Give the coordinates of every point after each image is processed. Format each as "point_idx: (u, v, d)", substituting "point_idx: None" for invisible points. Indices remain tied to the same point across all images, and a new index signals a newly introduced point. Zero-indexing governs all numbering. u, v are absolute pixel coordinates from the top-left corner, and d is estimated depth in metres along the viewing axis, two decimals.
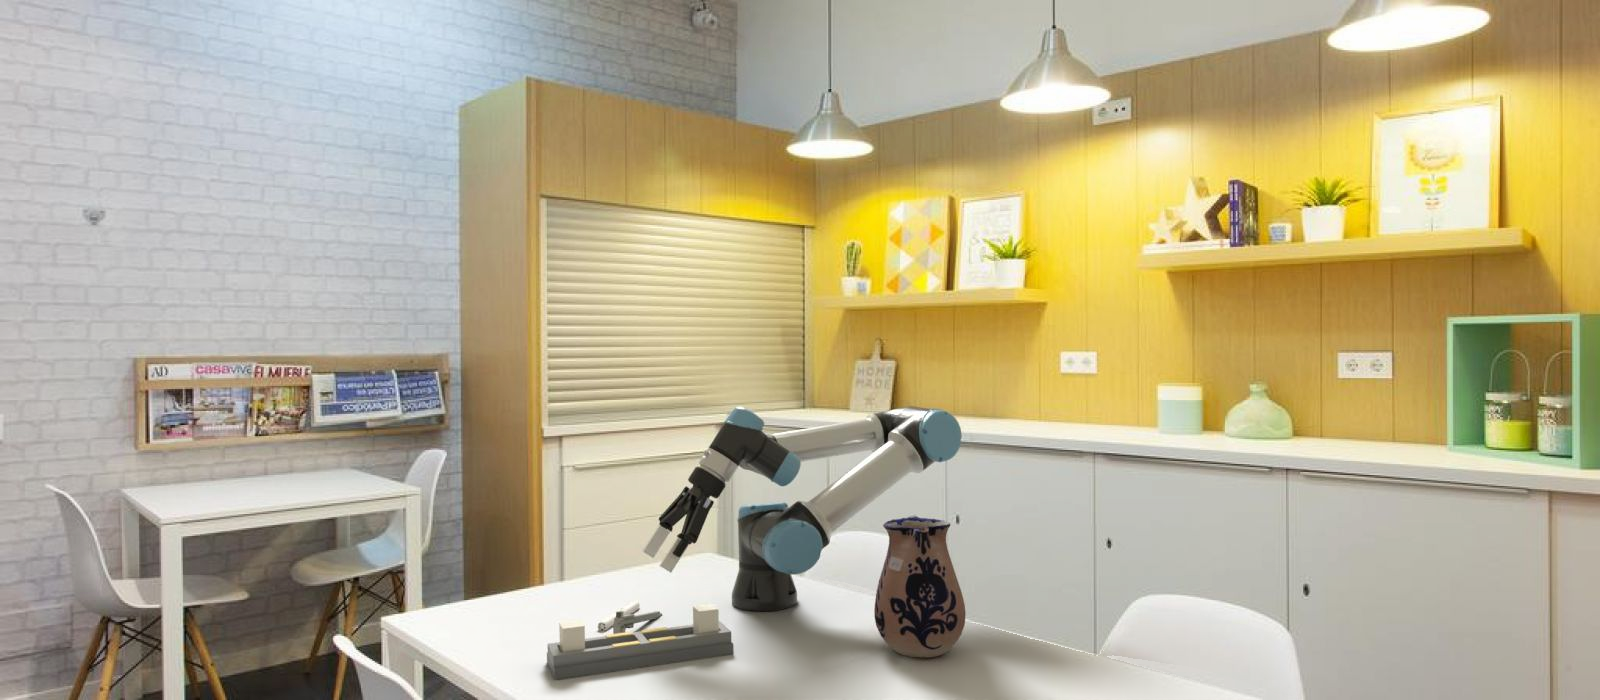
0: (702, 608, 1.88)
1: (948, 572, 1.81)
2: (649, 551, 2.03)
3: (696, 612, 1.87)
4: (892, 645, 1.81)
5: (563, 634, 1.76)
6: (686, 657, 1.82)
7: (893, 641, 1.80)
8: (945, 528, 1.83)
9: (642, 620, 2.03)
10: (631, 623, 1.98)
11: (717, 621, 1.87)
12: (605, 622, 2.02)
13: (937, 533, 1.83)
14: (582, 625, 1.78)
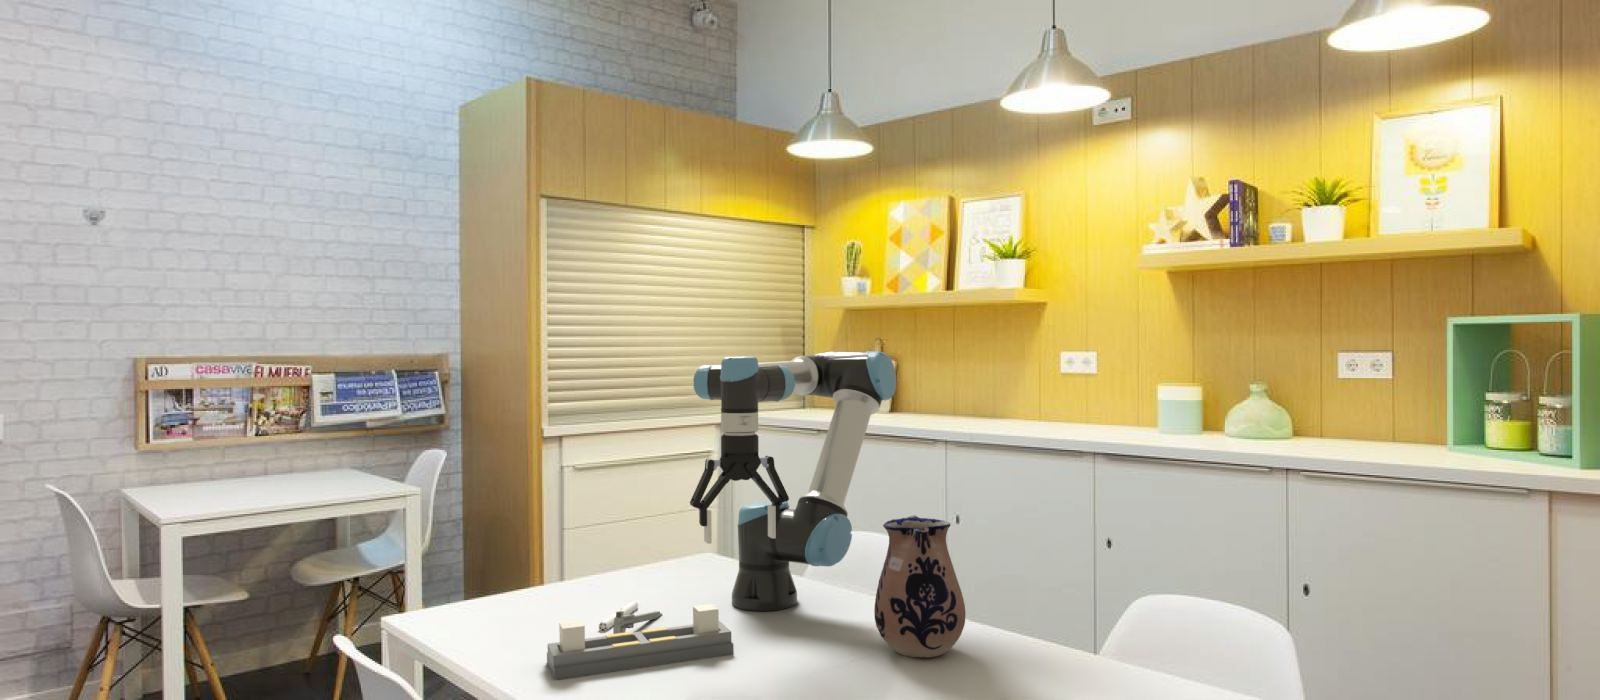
0: (702, 608, 1.88)
1: (948, 572, 1.81)
2: None
3: (696, 612, 1.87)
4: (892, 645, 1.81)
5: (563, 634, 1.76)
6: (686, 657, 1.82)
7: (893, 641, 1.80)
8: (945, 528, 1.83)
9: (642, 620, 2.03)
10: (631, 623, 1.98)
11: (717, 621, 1.87)
12: (606, 622, 2.02)
13: (937, 533, 1.83)
14: (582, 625, 1.78)
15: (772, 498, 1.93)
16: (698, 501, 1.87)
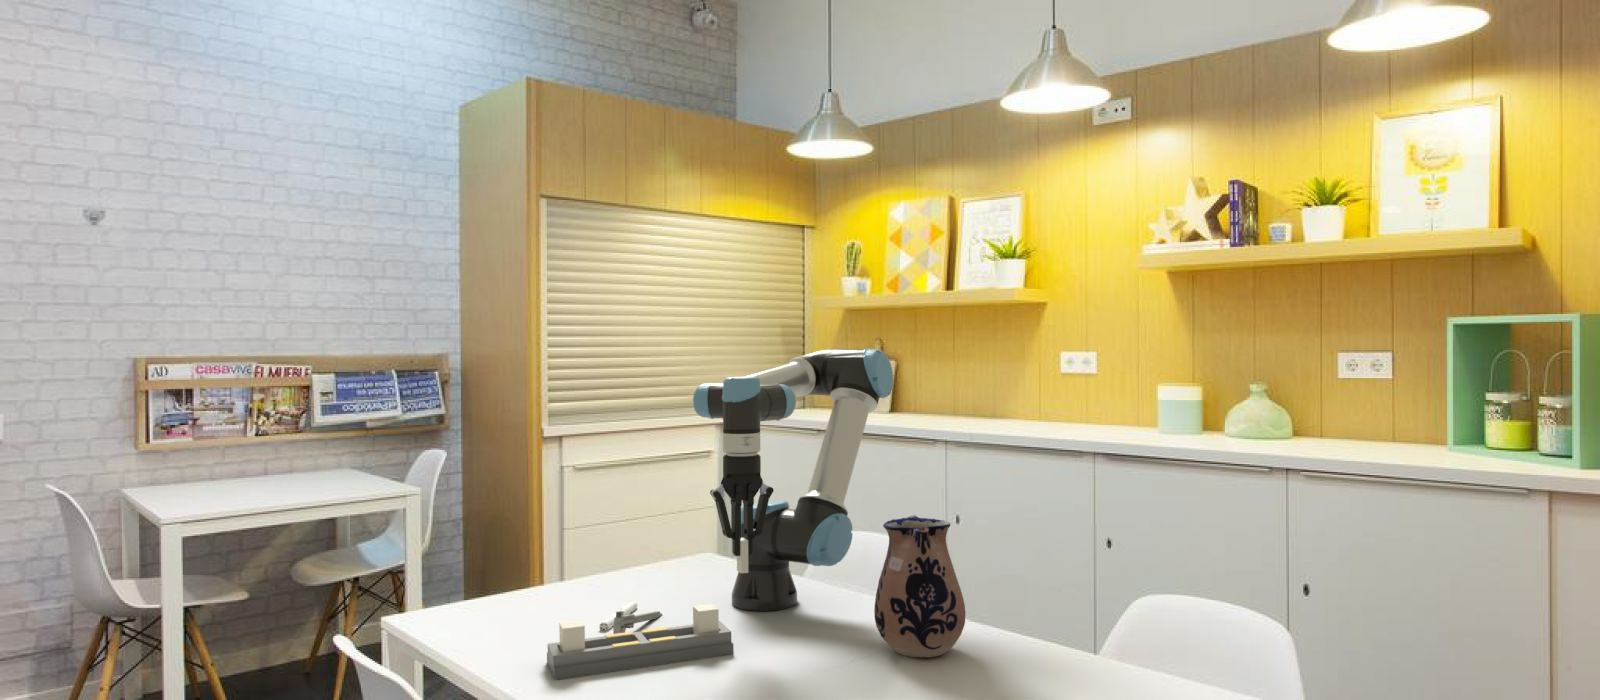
0: (702, 608, 1.88)
1: (948, 572, 1.81)
2: None
3: (696, 612, 1.87)
4: (892, 645, 1.81)
5: (563, 634, 1.76)
6: (686, 657, 1.82)
7: (893, 641, 1.80)
8: (945, 528, 1.83)
9: (642, 620, 2.03)
10: (631, 623, 1.98)
11: (717, 621, 1.87)
12: (607, 622, 2.02)
13: (937, 533, 1.83)
14: (582, 625, 1.78)
15: (748, 529, 1.90)
16: (729, 530, 1.89)
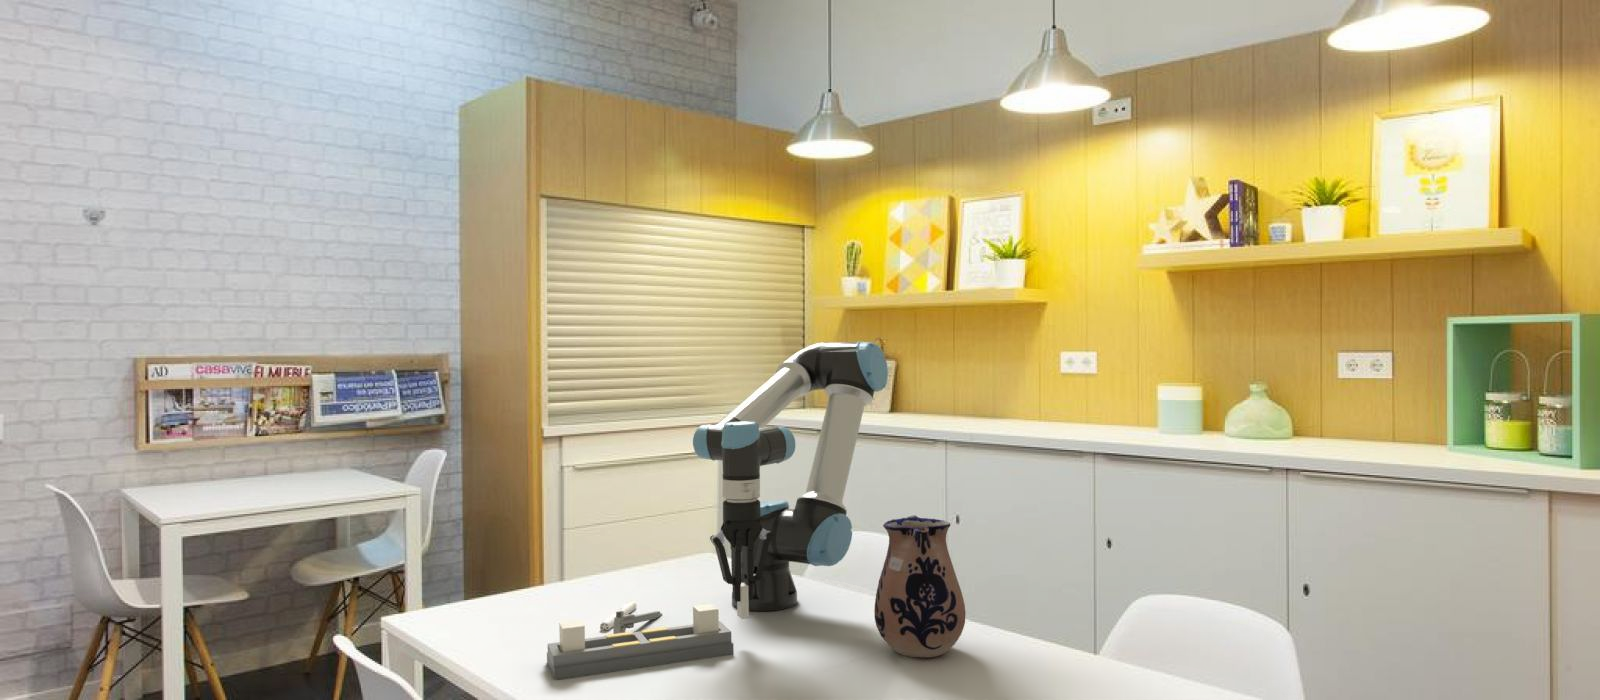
0: (702, 608, 1.88)
1: (948, 572, 1.81)
2: None
3: (696, 612, 1.87)
4: (892, 645, 1.81)
5: (563, 634, 1.76)
6: (686, 657, 1.82)
7: (893, 641, 1.80)
8: (945, 528, 1.83)
9: (642, 620, 2.03)
10: (631, 623, 1.98)
11: (717, 621, 1.87)
12: (607, 622, 2.02)
13: (937, 533, 1.83)
14: (582, 625, 1.78)
15: (748, 574, 1.90)
16: (729, 577, 1.89)
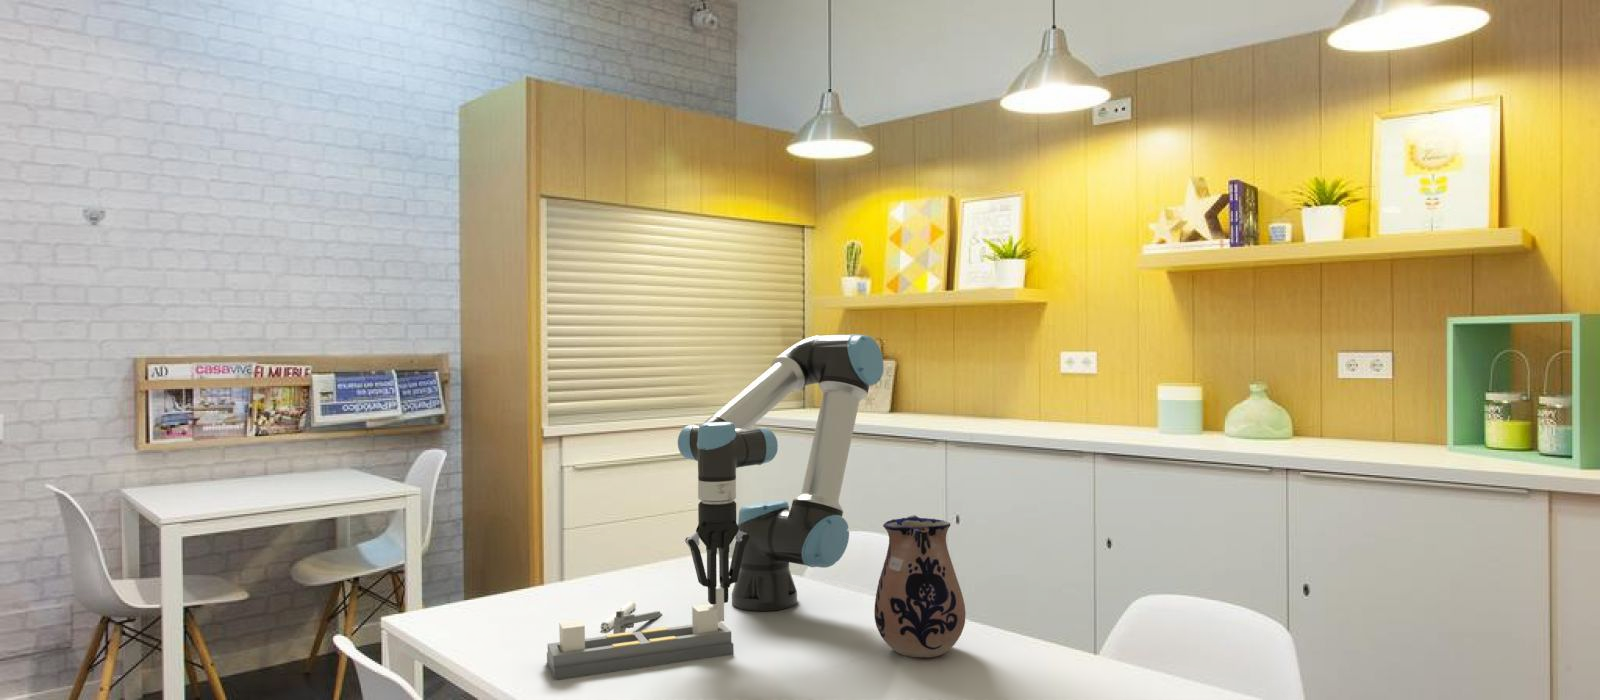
0: (701, 608, 1.87)
1: (948, 572, 1.81)
2: None
3: (695, 613, 1.87)
4: (892, 645, 1.81)
5: (563, 634, 1.76)
6: (686, 657, 1.82)
7: (893, 641, 1.80)
8: (945, 528, 1.83)
9: (642, 620, 2.03)
10: (631, 623, 1.98)
11: (717, 621, 1.87)
12: (608, 622, 2.02)
13: (937, 533, 1.83)
14: (582, 625, 1.78)
15: (724, 577, 1.88)
16: (705, 579, 1.87)
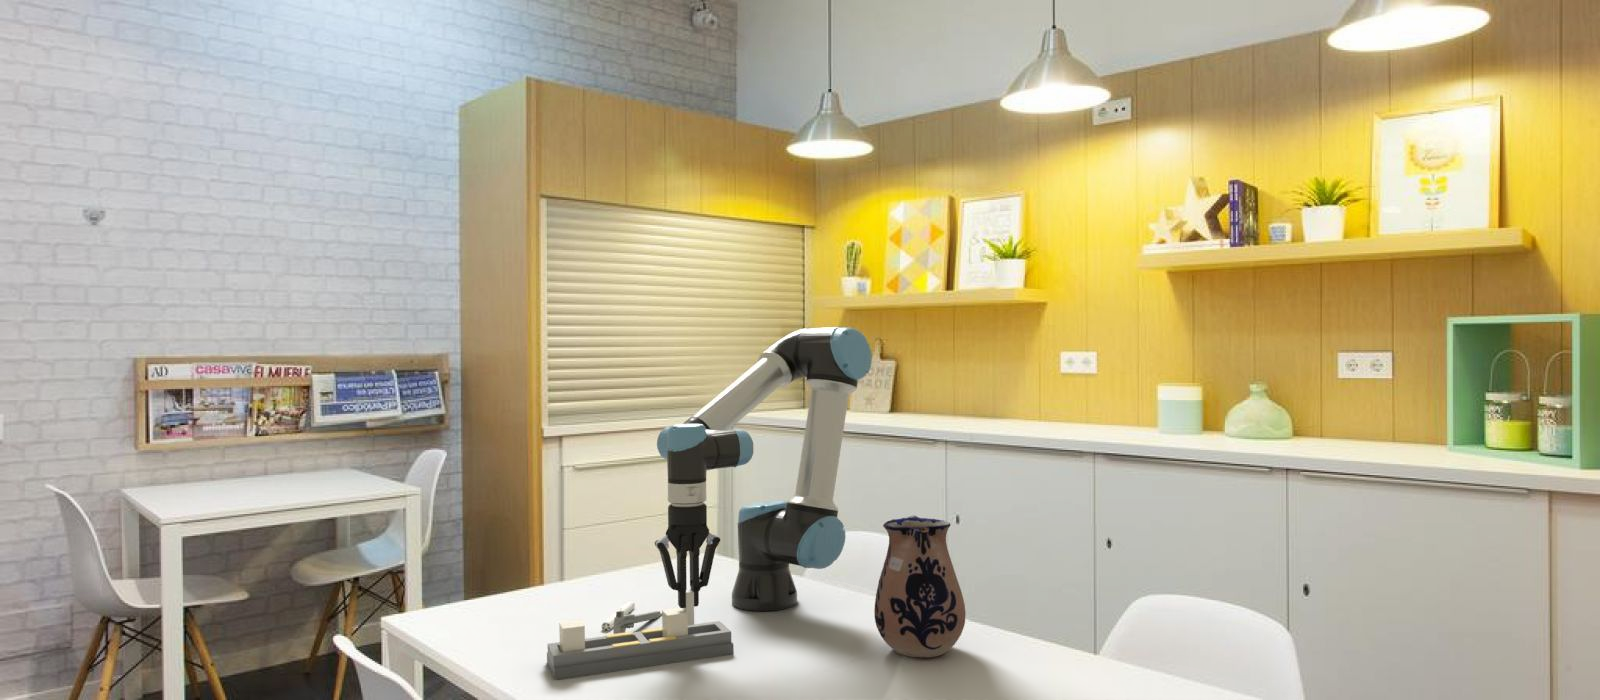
0: (671, 612, 1.85)
1: (948, 572, 1.81)
2: None
3: (665, 616, 1.85)
4: (892, 645, 1.81)
5: (563, 634, 1.76)
6: (686, 657, 1.82)
7: (893, 641, 1.80)
8: (945, 528, 1.83)
9: (642, 620, 2.03)
10: (631, 623, 1.98)
11: (687, 625, 1.85)
12: (609, 622, 2.02)
13: (937, 533, 1.82)
14: (582, 625, 1.78)
15: (694, 580, 1.86)
16: (674, 582, 1.84)
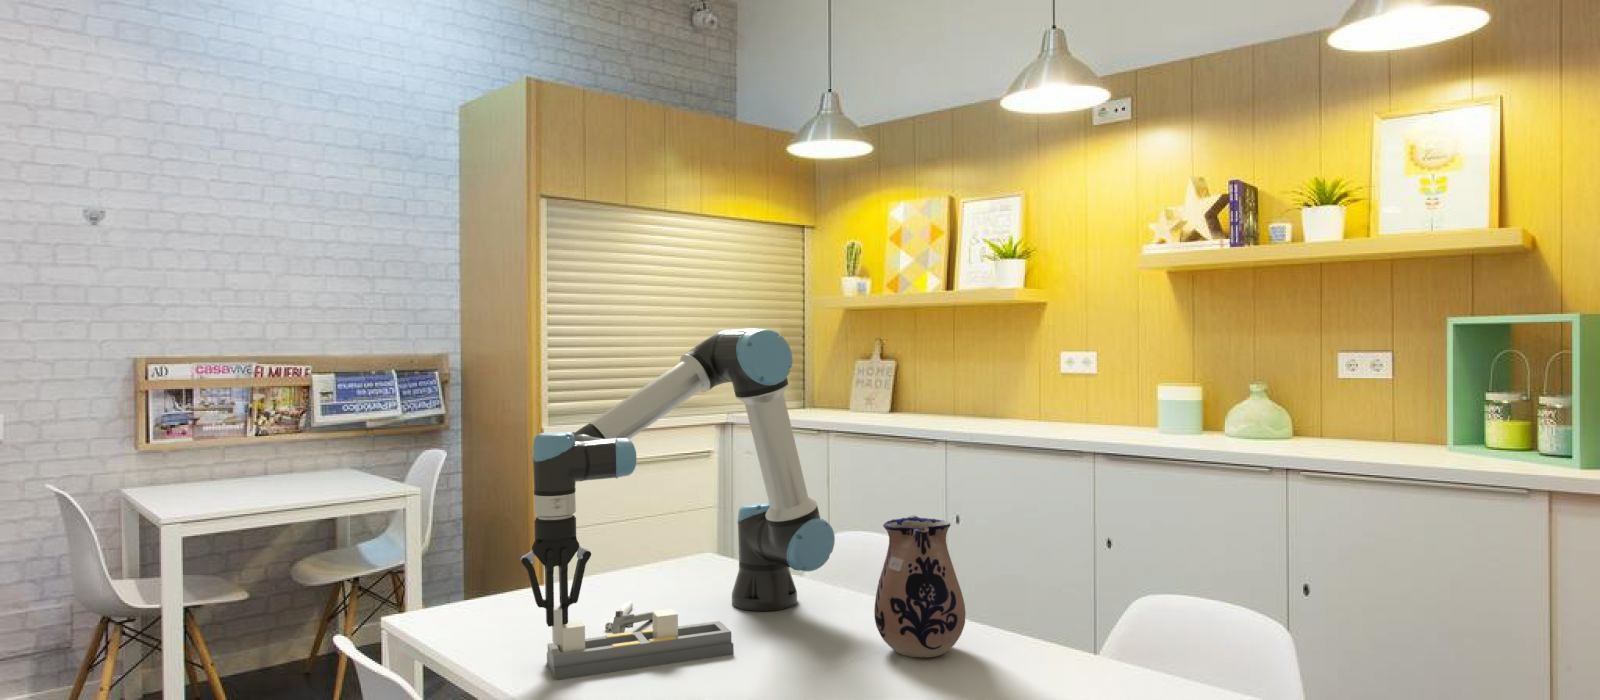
0: (661, 613, 1.84)
1: (948, 572, 1.81)
2: None
3: (655, 618, 1.84)
4: (892, 645, 1.81)
5: (563, 634, 1.76)
6: (686, 657, 1.82)
7: (893, 641, 1.80)
8: (945, 528, 1.83)
9: (642, 620, 2.03)
10: (631, 623, 1.99)
11: (677, 627, 1.84)
12: (612, 622, 2.02)
13: (937, 533, 1.83)
14: (582, 625, 1.78)
15: (562, 597, 1.77)
16: (540, 600, 1.75)
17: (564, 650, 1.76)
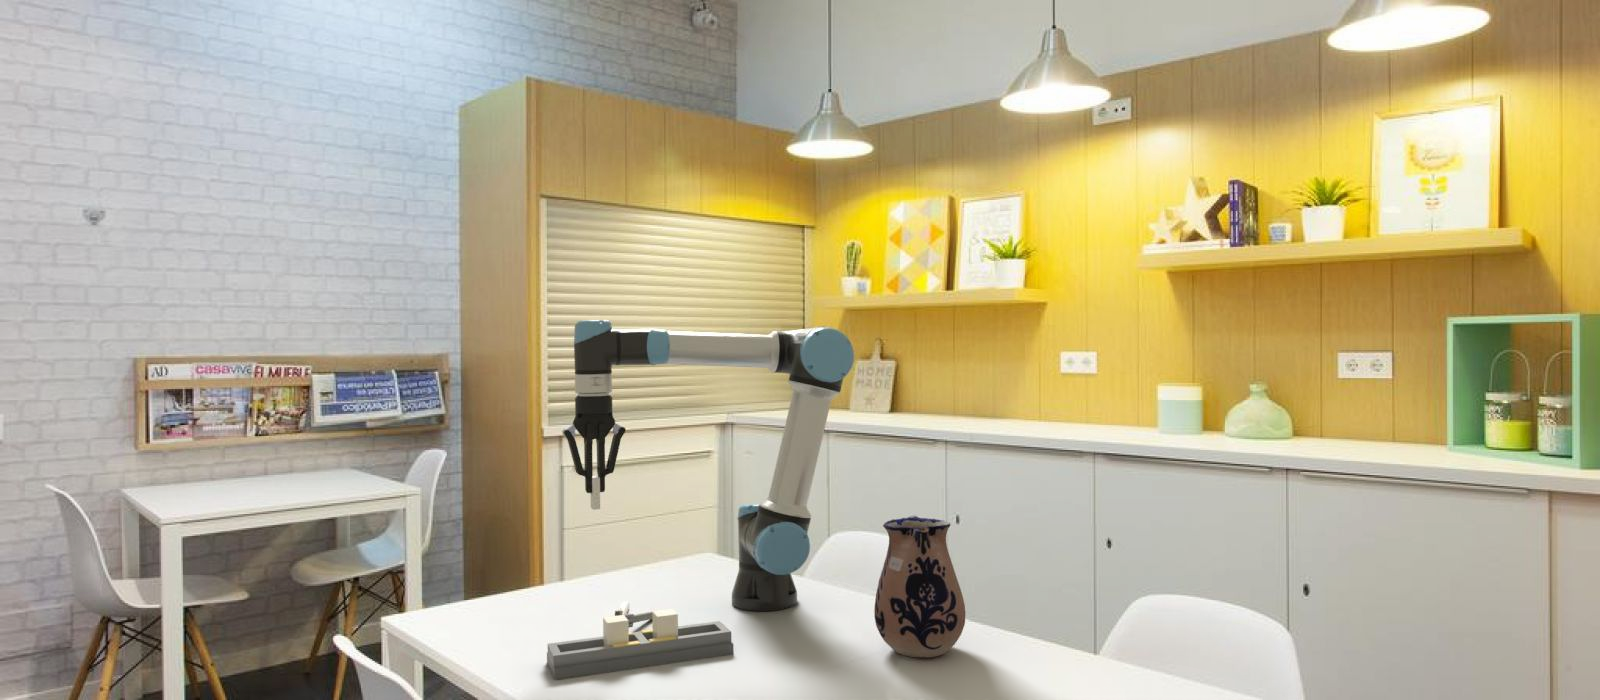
0: (661, 613, 1.84)
1: (948, 572, 1.81)
2: None
3: (655, 618, 1.84)
4: (892, 645, 1.81)
5: (608, 628, 1.79)
6: (686, 657, 1.82)
7: (893, 641, 1.80)
8: (945, 528, 1.83)
9: (642, 619, 2.03)
10: (630, 622, 1.99)
11: (677, 627, 1.84)
12: None
13: (937, 533, 1.83)
14: (626, 619, 1.81)
15: (600, 467, 1.97)
16: (580, 468, 1.95)
17: (608, 644, 1.79)
